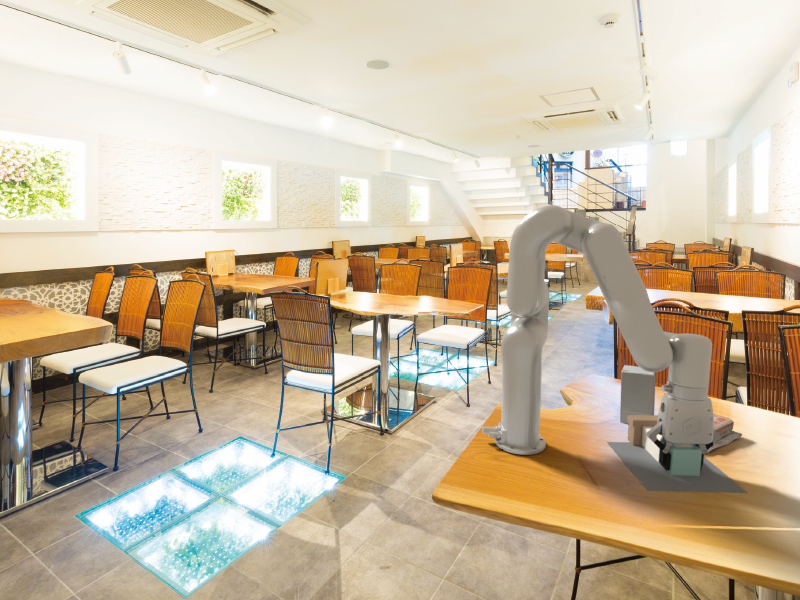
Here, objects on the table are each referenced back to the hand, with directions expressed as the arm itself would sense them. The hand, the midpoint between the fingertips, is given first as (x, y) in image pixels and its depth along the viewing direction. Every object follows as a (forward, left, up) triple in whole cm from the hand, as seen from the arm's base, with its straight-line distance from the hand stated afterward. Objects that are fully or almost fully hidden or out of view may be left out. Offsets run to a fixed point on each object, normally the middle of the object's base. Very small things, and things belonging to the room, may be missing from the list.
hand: (680, 467), depth 103 cm
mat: (-1, +3, -1) cm, 3 cm away
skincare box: (+2, +27, -1) cm, 27 cm away
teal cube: (0, +1, -1) cm, 1 cm away
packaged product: (+14, +17, -1) cm, 22 cm away
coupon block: (0, +10, -1) cm, 10 cm away
